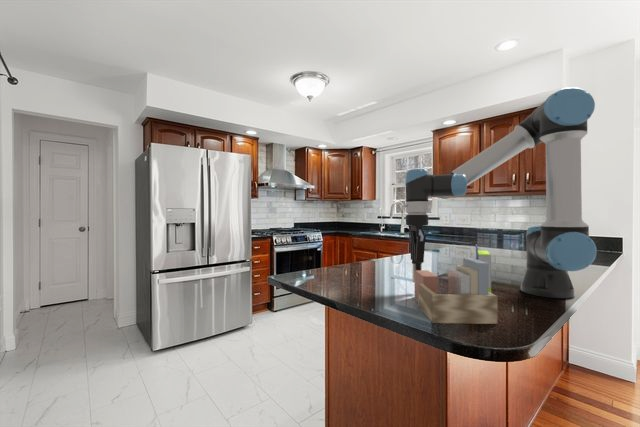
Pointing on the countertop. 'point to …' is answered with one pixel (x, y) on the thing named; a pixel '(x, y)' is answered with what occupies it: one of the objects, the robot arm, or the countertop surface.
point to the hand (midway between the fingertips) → (417, 281)
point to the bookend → (458, 282)
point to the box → (486, 258)
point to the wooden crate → (458, 307)
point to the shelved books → (476, 275)
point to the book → (425, 281)
